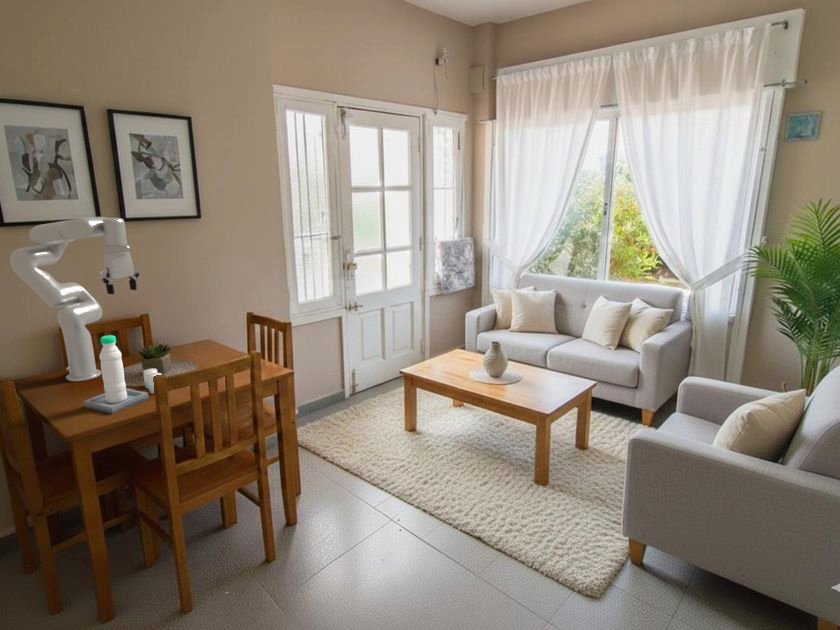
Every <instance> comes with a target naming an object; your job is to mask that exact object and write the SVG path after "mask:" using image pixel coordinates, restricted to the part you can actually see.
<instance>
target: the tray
mask: <svg viewBox="0 0 840 630" xmlns="http://www.w3.org/2000/svg"><path fill="white" fill-rule="evenodd" d="M126 392H127V399H126V400H124V401H122V402H119V403H108V402H106V398H105V392H104V393H101V394H99V395H96V396H94V397H91V398H88V399H86V400H83V404H84V408H86V409H91V410H95V411H99V412H103V413H108V414H111V415H114V414H116V413H119V412H121V411H123V410H125V409H128V408H130V407H132V406H135V405H138V404H140V403H142V402H144V401H147V400H149V399H150V397H149V392H147V391H140V390H137V389H131V388H127V387H126Z"/></svg>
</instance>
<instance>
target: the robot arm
mask: <svg viewBox="0 0 840 630" xmlns="http://www.w3.org/2000/svg"><path fill="white" fill-rule="evenodd" d="M28 237H29V239H30V241H32V242H33V243H34V244H35V245H32V246H24V247H21V248H17V249H16V250H13V252H12V253H11V254H10V258H9V261H10V263H9V264H10V266H11V268H12V271H13V272H14V274H15V275H17V276H18V278H20V279H21V280H22V281H23V282H24V283H26V285H28V286H29V287H30V288H31V289H32V290H33V291H34V292H35V293H36V294H37V296H38V297H40V299H42V301H43V302H44V303H45V304H46V305H48V306H49V307H50V308H53V309H57V308H58V309H59V308H60V309H59V311H58V313H57V316H56V317H57V321H58V324H59V326H60V328H61V331H62V335H63V341H64V346H65V351H66V352H65V353H66V357H67V363H68V366H67V367H66V368H65V369H66V371H68V372H69V374H67V375H66V376H65V378H66V380H67V381H68V382H82V381H83V382H84V381H89V380H92V379H95V378H98V377H100V376H101V375H102V371H101V369H97V364H96V360H95V352H94V345H93V341H92V335H91V332H90V331H89V329H88V328H87V327H86V325H88V324H92V323H94V322H97V321H99V320H100V319H101V318H102V316H103V314H104V313H103V308H102V306H101V305H100V303H99V302H98V301H97V300H96V298H94V297H93V296H92V295H91V294H90V293H89V291H87V289H86V288H85V287H83V286H82V285H81V284H79V283H77V282H73V281H70V282H69V281H68V282H64V283H60V282H58V281H57V280H56V279H55V278H54V277H53V276H52V275H51V274H50V273H49V272H47V271H44V270H43V269H40V268H39V267H45V266H50V265H54V264H56V263H57V262H58V261H59V260H60V259H61V257H62V255H63V253H64V252H65V250H66V248H67V246H68V244H69V243H72V242H74V241H75V240H79V239H86V238H87V239H88V238H95V237H104V243H105V251H106V253H103V254H104V255H103V256H104V257H103V270H102V271H101V272H99V273H98V274H97V276H98V277H99V279H100V281H101V282H102V283H103V284H104V285H105V286H106V287H105V288H106V292H107V295H115V287H114V284H113V282H114V280H118V279H124V278H129V280H128V283H129V290H131V291H137V281H138V277H139V276H140V272H141V268H139V267H137V266H134V263H133V259H132V255H131V253H130V251H129V250H130V249H131V246H130V245H129V244H128V239H127V232H126V224H125V220H124V219H123V218H120V217H107V216H106V217H105V216H92V217H91V216H89V217H79V218H73V219H68V220H62V221H56V222H49V223H44V224H42V223H41V224H38V225H35V226H34V227H32V228H31V229H30V230H29V234H28Z"/></svg>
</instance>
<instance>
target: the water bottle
mask: <svg viewBox="0 0 840 630" xmlns="http://www.w3.org/2000/svg"><path fill="white" fill-rule="evenodd" d="M116 338H117V337H116V336H115V335H104V336H101V338H100V343H101V345H102V348H101V350H100V353H99V360H100V371H101V375H102V382H103V391H104V393H105V398H106V402H108V403H119V402H122V401H124V400H126V399H127V392H126V388H127V384H126V381H125V369H124V364H123V360H122V359H123V358H122V356H123V355H122V354H123V353H122V352H121V350H120V349H119V348H118V346H116V342H117V339H116Z"/></svg>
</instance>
